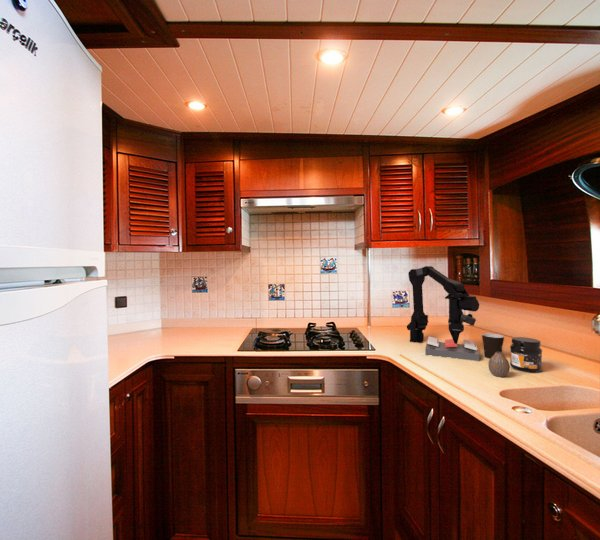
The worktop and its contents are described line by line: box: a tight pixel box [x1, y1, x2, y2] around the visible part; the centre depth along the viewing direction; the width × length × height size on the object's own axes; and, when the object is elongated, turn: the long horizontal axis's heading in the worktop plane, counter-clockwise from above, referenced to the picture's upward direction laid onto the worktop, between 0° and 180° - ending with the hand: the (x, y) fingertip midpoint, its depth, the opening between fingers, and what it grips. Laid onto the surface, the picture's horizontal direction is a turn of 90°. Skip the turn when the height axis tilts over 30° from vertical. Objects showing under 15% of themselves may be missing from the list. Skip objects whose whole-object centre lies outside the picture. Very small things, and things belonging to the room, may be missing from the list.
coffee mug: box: [481, 332, 505, 360], centre depth 144 cm, size 12×9×10 cm
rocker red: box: [444, 338, 458, 347], centre depth 152 cm, size 5×11×1 cm, turn 155°
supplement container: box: [509, 336, 543, 374], centre depth 128 cm, size 10×10×12 cm
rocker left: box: [426, 336, 440, 347], centre depth 155 cm, size 5×11×1 cm, turn 156°
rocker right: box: [462, 339, 478, 351], centre depth 148 cm, size 5×11×1 cm, turn 156°
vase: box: [488, 352, 511, 378], centre depth 120 cm, size 7×7×9 cm
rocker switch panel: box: [424, 341, 480, 362], centre depth 150 cm, size 22×16×3 cm
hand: (455, 341), depth 151 cm, fingers open, 9 cm apart
